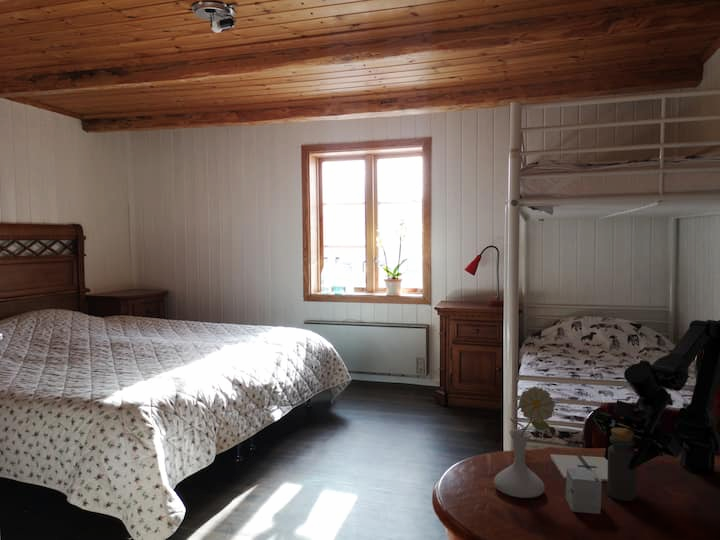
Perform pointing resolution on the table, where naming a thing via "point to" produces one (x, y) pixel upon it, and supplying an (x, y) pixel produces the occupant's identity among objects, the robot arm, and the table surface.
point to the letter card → (581, 464)
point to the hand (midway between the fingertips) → (618, 463)
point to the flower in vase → (518, 475)
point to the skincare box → (583, 490)
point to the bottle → (621, 465)
